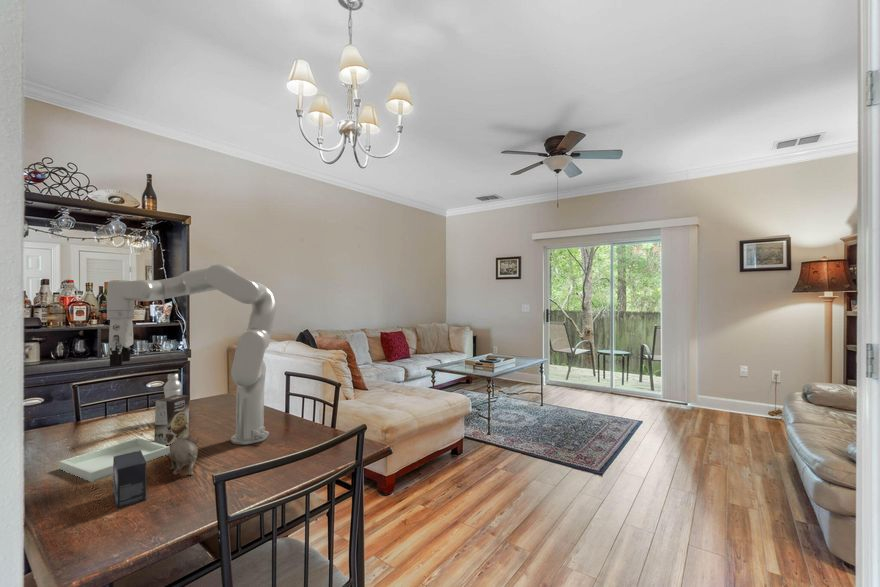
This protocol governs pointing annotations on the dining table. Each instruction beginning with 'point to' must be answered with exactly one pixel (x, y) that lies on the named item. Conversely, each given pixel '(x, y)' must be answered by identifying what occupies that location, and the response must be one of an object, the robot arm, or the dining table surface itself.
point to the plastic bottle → (172, 386)
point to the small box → (129, 478)
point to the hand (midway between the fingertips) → (120, 363)
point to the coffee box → (171, 419)
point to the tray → (110, 458)
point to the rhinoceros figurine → (183, 453)
